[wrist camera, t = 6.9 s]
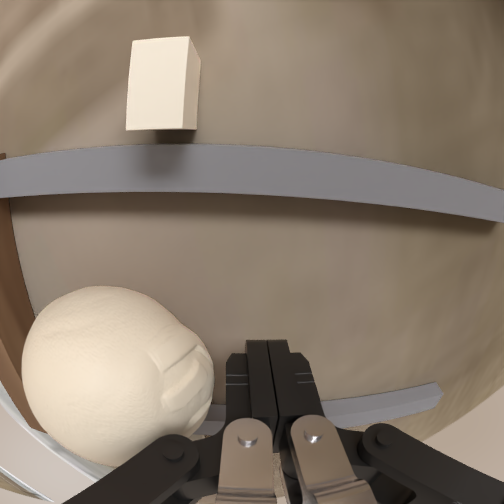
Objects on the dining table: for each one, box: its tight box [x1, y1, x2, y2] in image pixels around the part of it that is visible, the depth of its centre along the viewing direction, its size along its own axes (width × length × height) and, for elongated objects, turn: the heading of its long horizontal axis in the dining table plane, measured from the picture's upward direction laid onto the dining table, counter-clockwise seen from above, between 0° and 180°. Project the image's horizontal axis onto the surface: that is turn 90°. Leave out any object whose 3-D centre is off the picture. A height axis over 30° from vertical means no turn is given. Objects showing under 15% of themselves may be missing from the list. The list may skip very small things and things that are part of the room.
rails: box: [0, 144, 504, 435], centre depth 12 cm, size 24×14×1 cm, turn 86°
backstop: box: [0, 153, 48, 434], centre depth 10 cm, size 2×15×3 cm, turn 176°
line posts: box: [126, 36, 205, 441], centre depth 11 cm, size 2×20×3 cm, turn 176°
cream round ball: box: [21, 286, 215, 467], centre depth 9 cm, size 7×7×7 cm
